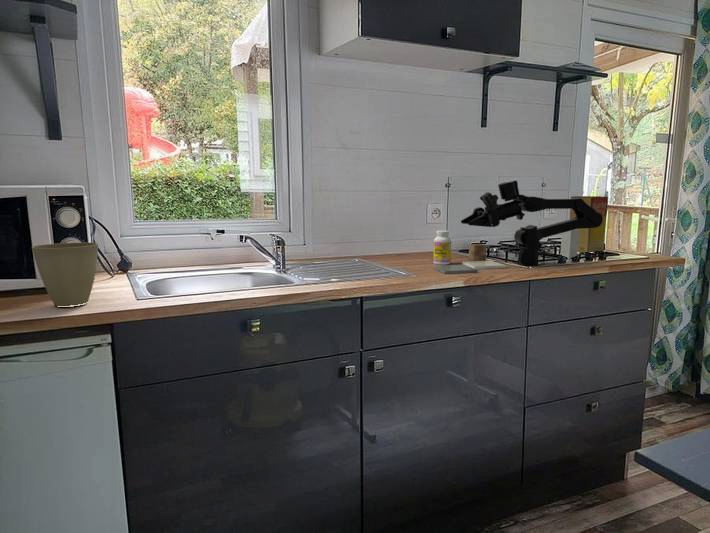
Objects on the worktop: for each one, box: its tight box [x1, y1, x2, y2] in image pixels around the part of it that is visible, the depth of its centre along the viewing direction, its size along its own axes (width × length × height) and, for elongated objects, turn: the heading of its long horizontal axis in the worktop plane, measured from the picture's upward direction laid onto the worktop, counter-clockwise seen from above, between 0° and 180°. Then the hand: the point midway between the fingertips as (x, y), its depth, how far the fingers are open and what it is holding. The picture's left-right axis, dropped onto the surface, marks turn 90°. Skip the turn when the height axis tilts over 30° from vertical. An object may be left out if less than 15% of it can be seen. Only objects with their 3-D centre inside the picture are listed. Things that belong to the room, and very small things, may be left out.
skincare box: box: [559, 229, 579, 260], centre depth 201 cm, size 6×4×12 cm
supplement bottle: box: [433, 230, 452, 266], centre depth 191 cm, size 7×7×13 cm
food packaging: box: [569, 195, 609, 253], centre depth 218 cm, size 13×9×25 cm
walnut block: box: [468, 243, 487, 261], centre depth 195 cm, size 5×5×7 cm
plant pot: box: [31, 242, 99, 306], centre depth 128 cm, size 15×15×16 cm
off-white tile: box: [461, 260, 506, 270], centre depth 185 cm, size 12×12×1 cm
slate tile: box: [432, 264, 478, 275], centre depth 176 cm, size 12×12×1 cm
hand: (464, 222), depth 183 cm, fingers open, 9 cm apart
